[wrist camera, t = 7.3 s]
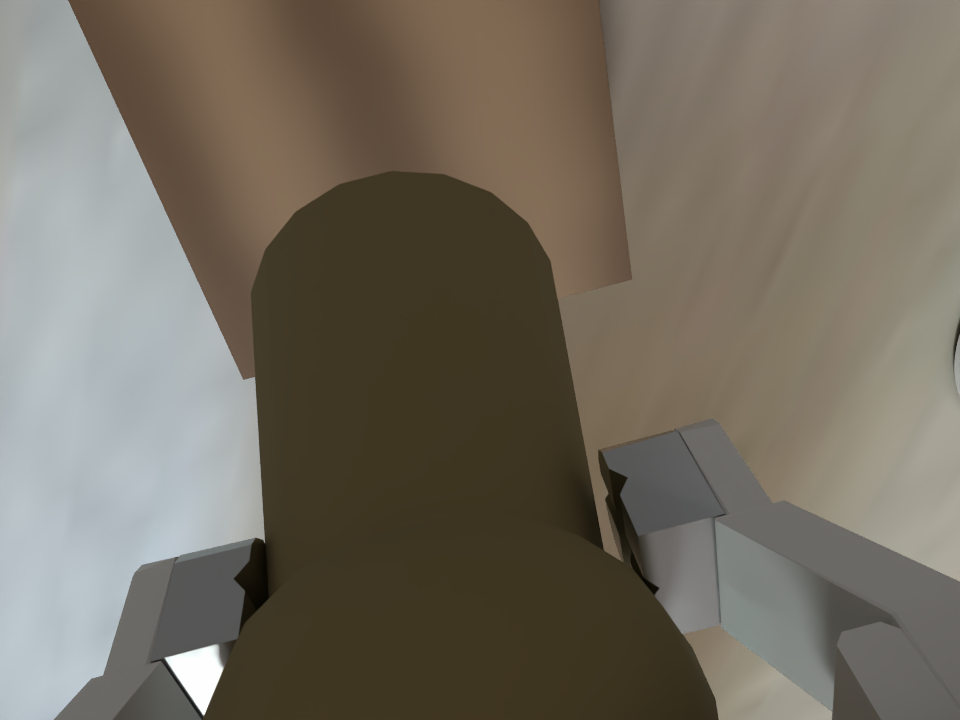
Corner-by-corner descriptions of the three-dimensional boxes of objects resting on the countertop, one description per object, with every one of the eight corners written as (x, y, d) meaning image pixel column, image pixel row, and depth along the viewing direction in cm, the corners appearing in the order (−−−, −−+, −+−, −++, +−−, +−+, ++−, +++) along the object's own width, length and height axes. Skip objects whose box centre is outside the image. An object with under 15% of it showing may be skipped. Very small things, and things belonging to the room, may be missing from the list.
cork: (217, 187, 14) (-36, 830, 5) (558, 155, 15) (915, 679, 5) (281, 456, 17) (202, 1148, 8) (557, 422, 18) (779, 1034, 9)
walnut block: (529, -189, 26) (574, -198, 21) (588, 214, 33) (632, 279, 28) (100, -79, 25) (40, -61, 20) (258, 299, 33) (243, 379, 28)
